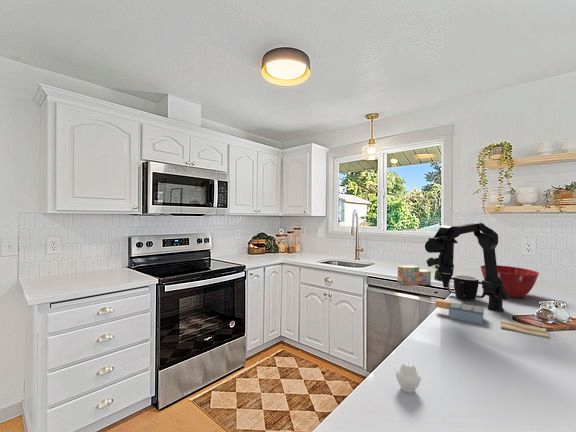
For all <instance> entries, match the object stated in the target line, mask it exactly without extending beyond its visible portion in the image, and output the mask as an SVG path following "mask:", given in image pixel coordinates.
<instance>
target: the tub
mask: <svg viewBox="0 0 576 432" xmlns="http://www.w3.org/2000/svg"><path fill="white" fill-rule="evenodd" d="M484 312H485V311H484ZM484 312H483V315H480V314H474V313H469V312H463V311H458V310H452V309H448V318H449V319H452V320H453V319H454V320H458V321H459V320H460V321H463V322H468V323H469V322H470V323H474V324H479V325H484V316H485V315H484Z"/></svg>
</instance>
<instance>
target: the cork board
mask: <svg viewBox="0 0 576 432" xmlns="http://www.w3.org/2000/svg"><path fill="white" fill-rule="evenodd" d="M539 327H540V326H537V327H536V325H532V324H531V325H530V324H526V323H522V322H521V323H519V322H514V321H509V320H503V319H500V329H502V330H506V331H511V332H517V333H522V334H527V335H531V336H535V337H541V338H546V339H550V335H549V333H548V331H547V329H546V328H545V327H543V328H539Z"/></svg>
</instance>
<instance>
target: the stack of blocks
mask: <svg viewBox="0 0 576 432" xmlns="http://www.w3.org/2000/svg"><path fill="white" fill-rule="evenodd" d="M431 281H432V271H430V270H427V269H420V266H417V265H398V266H397V284H398V285H400V286H402V287H407V286H408V287H412V286H429V285H430V286H431V284H432V283H431Z"/></svg>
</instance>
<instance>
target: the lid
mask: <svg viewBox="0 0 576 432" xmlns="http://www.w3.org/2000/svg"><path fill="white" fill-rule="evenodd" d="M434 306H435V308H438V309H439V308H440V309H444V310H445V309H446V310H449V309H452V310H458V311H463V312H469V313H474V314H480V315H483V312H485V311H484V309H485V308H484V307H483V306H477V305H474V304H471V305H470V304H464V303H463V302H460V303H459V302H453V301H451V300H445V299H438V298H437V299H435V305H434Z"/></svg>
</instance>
